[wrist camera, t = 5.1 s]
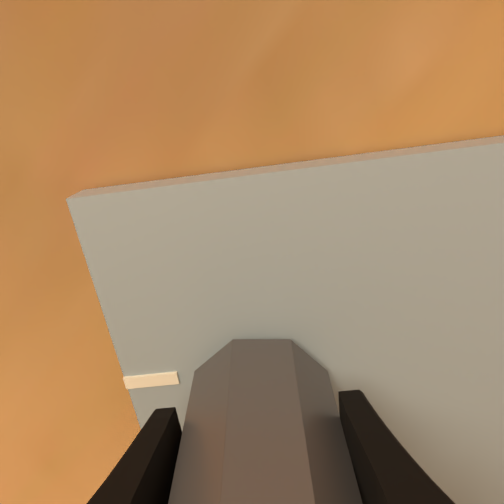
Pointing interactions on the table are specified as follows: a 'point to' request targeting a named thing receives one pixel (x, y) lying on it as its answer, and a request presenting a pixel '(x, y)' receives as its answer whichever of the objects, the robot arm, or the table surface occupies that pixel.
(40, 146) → the table surface
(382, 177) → the grey square plate
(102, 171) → the table surface
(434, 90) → the table surface
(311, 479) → the knob
